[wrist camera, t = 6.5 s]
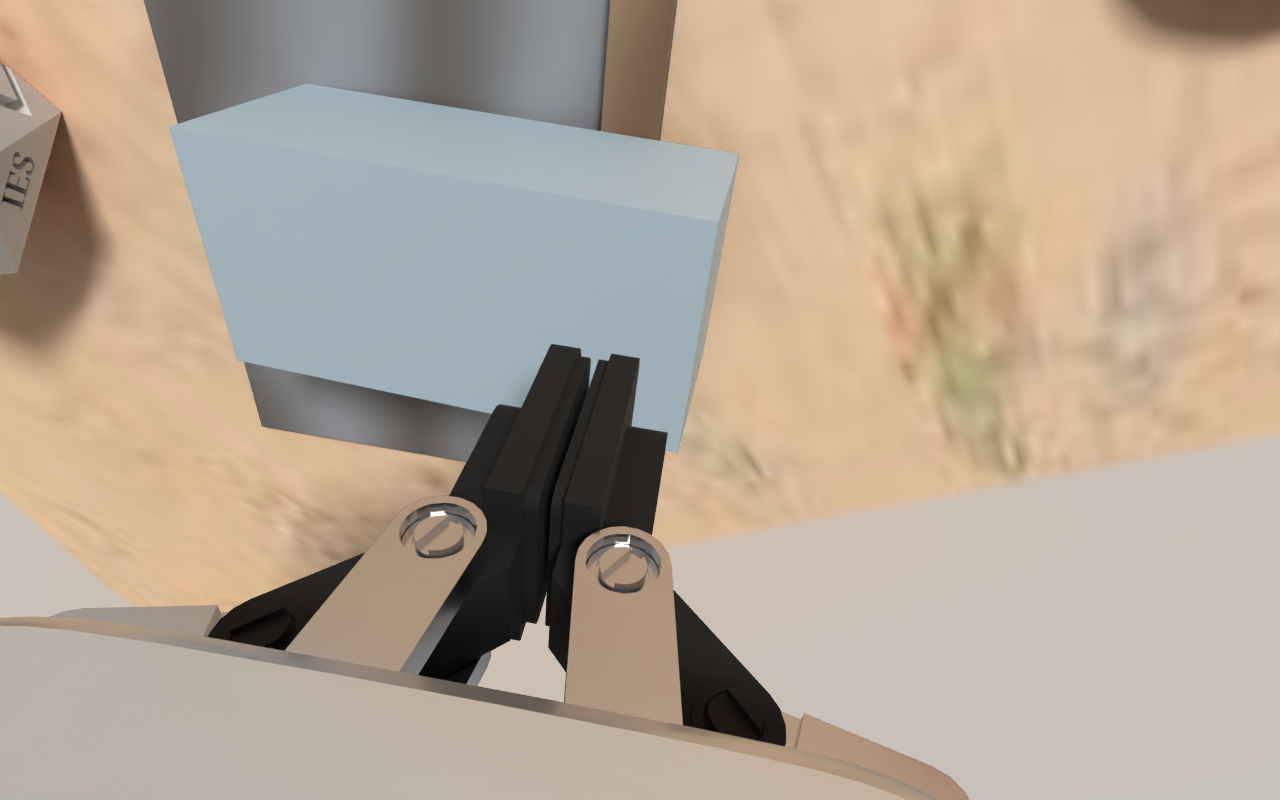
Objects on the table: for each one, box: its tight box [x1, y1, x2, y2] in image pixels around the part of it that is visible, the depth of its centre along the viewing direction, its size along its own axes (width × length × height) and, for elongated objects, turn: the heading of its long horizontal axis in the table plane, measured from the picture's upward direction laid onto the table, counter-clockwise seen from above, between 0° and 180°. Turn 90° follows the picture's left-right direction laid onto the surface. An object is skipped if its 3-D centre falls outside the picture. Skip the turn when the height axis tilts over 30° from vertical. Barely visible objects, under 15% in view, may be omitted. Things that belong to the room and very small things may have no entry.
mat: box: [144, 0, 677, 462], centre depth 20 cm, size 14×20×1 cm
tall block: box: [169, 84, 739, 453], centre depth 18 cm, size 5×6×12 cm
